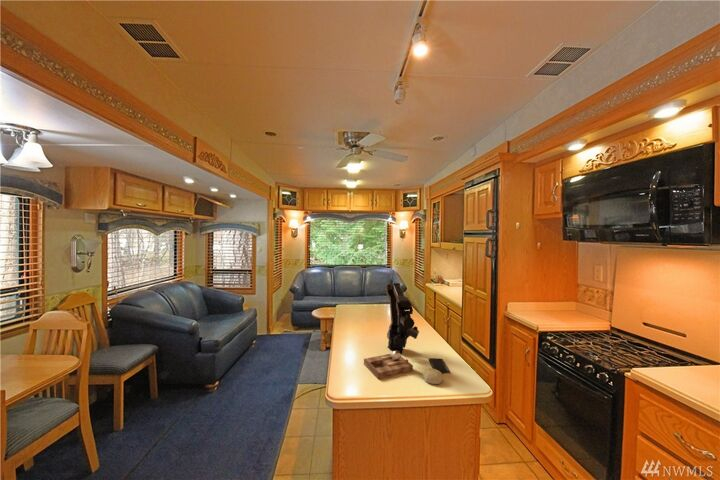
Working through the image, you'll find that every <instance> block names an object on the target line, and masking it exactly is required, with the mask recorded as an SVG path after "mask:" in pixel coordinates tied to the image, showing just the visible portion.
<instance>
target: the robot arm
mask: <svg viewBox="0 0 720 480" xmlns="http://www.w3.org/2000/svg"><path fill="white" fill-rule="evenodd" d="M384 288H385V293H386V296H387V298H388V301H389V310H390V313H389V314H390V325H389V327H388V331H387V333H386V338H387V339H388V342H387V343H388V344H387V345H388V346H387V348H388V349H389V350H391V351H392V352H393V351H399V352H400V354H401V355H403V351H404V348H406V345H407V343H408V342H407V341H408V339H409V337H412V338H413V339H417V338H418V336H419V333H420V330H419V328H418V326H417V325H415V321H414V318H413V317H412V316H411V315H413V312H414V309H413V305H412V302H411V301H410V299H409V298H408V297H407V296H405V294H404V292H403V290H402V288H401V284H400V283H399V282H392V283H390V284H386V286H385V287H384Z"/></svg>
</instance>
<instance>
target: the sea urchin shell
mask: <svg viewBox="0 0 720 480" xmlns="http://www.w3.org/2000/svg"><path fill="white" fill-rule="evenodd" d="M422 377H423V379H424V380H425V381H426V382H427V384H431V385H440V384H441V383H442V382H443V380H444V374H442V373H441V372H440V371H438V370H436V369H433V368H428V369H426V370H424V371H423V374H422Z"/></svg>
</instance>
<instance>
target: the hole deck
mask: <svg viewBox="0 0 720 480" xmlns="http://www.w3.org/2000/svg"><path fill="white" fill-rule="evenodd" d="M391 354H392V352H391V353H386V354H382V355H377V356H371V357H366V358H363V366H364V367H365V368H367V369H368V370H369V371H370V373H371V374H372V375H373V376H374V377H375V378H376V379H377V380H381V379H384V378H389V377H394V376H398V375H401V374H406V373H411V372H413V371H414V370H413V369H414V367H413V366H414V365H413V364H411V363H410V362H409V359H407V358H406V359H405V358H404V357H403V356H401V358H400V359H399V360H398V361H395V360H393V359H392V357H391Z"/></svg>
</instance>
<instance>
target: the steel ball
mask: <svg viewBox="0 0 720 480" xmlns="http://www.w3.org/2000/svg"><path fill="white" fill-rule="evenodd" d="M391 353H392V354H391ZM391 353H390V354H391V357H392V359H393V360H395V361H398V360H399V359H400V358H401V357H402V354H400V352H399V351H398V350H396V351H392V352H391Z"/></svg>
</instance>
